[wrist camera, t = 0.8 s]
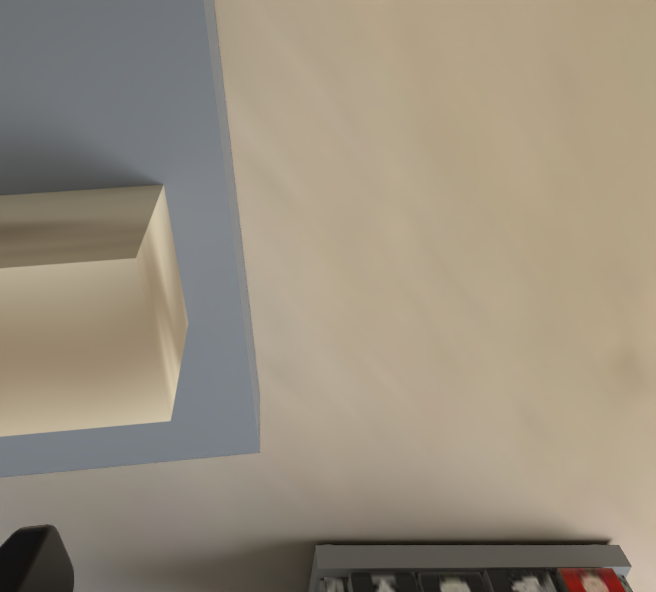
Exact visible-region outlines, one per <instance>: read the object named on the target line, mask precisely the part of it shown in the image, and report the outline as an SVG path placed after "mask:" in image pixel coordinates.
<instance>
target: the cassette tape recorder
mask: <svg viewBox="0 0 656 592" xmlns="http://www.w3.org/2000/svg"><path fill="white" fill-rule="evenodd" d="M631 567H632V566H631V564H630V563H629V561H628V559H627V558H626V556H625V554H624V553H623V551H622V549H621V548H620V546H619V545H599V544H591V545H331V544H324V545H316V546H315V552H314V558H313V565H312V571H311V577H310V583H309V589H308V592H633V591H632V589H631V588H630V586H629V584H628V582H627V581H626V579H625V578H626V576H627V574H628V573H629V571H630V569H631Z"/></svg>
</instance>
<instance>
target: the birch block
mask: <svg viewBox="0 0 656 592" xmlns="http://www.w3.org/2000/svg"><path fill="white" fill-rule="evenodd" d="M187 328H188V319H187V313H186V308H185V302H184V296H183V291H182V285H181V280H180V274H179V268H178V263H177V257H176V251H175V246H174V240H173V234H172V229H171V223H170V217H169V212H168V206H167V201H166V195H165V189H164V185H150V186H135V187H120V188H105V189H91V190H76V191H61V192H46V193H32V194H17V195H2V196H0V437H2V436H13V435H24V434H35V433H46V432H57V431H68V430H78V429H89V428H100V427H111V426H122V425H133V424H144V423H155V422H166V421H171V416H172V411H173V405H174V400H175V394H176V389H177V383H178V378H179V372H180V367H181V361H182V355H183V350H184V344H185V339H186V333H187Z"/></svg>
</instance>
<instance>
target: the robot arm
mask: <svg viewBox="0 0 656 592" xmlns="http://www.w3.org/2000/svg"><path fill="white" fill-rule="evenodd" d="M73 587H74V571H73V566H72V563H71V561H70V558H69V556H68V554H67V551H66V549H65V546H64V544H63V542H62V539H61V537H60V535H59V532H58V530H57V529H56V528H55V527H54V526H53V525H48V524H47V525H38V526H30V527H23V528H20V529H18V530H17V531H15V532H14V533H13V534H12V535H11V536H10V537H9V538H8V539H7V540H6V541H5V542H4V543H3V544H2V546H1V547H0V592H73Z"/></svg>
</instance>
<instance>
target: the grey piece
mask: <svg viewBox="0 0 656 592" xmlns="http://www.w3.org/2000/svg"><path fill="white" fill-rule="evenodd" d="M150 185H164V189H165V195H166V201H167V206H168V212H169V217H170V223H171V229H172V234H173V240H174V246H175V251H176V257H177V263H178V268H179V274H180V280H181V285H182V291H183V296H184V302H185V308H186V313H187V319H188V328H187V333H186V339H185V344H184V350H183V355H182V361H181V367H180V372H179V378H178V383H177V389H176V394H175V400H174V405H173V411H172V416H171V421H166V422H155V423H144V424H133V425H122V426H111V427H100V428H89V429H78V430H68V431H57V432H46V433H35V434H24V435H13V436H2V437H0V477H11V476H21V475H32V474H42V473H52V472H63V471H73V470H84V469H94V468H105V467H115V466H126V465H136V464H146V463H157V462H167V461H178V460H188V459H199V458H209V457H220V456H230V455H240V454H251V453H260V392H259V383H258V374H257V366H256V357H255V349H254V340H253V332H252V323H251V315H250V306H249V298H248V289H247V280H246V272H245V263H244V255H243V246H242V238H241V229H240V221H239V212H238V204H237V195H236V186H235V178H234V169H233V161H232V152H231V144H230V135H229V127H228V118H227V110H226V101H225V92H224V84H223V75H222V67H221V58H220V50H219V41H218V33H217V24H216V16H215V7H214V0H0V196H2V195H17V194H32V193H46V192H61V191H76V190H91V189H105V188H120V187H135V186H150Z"/></svg>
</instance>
